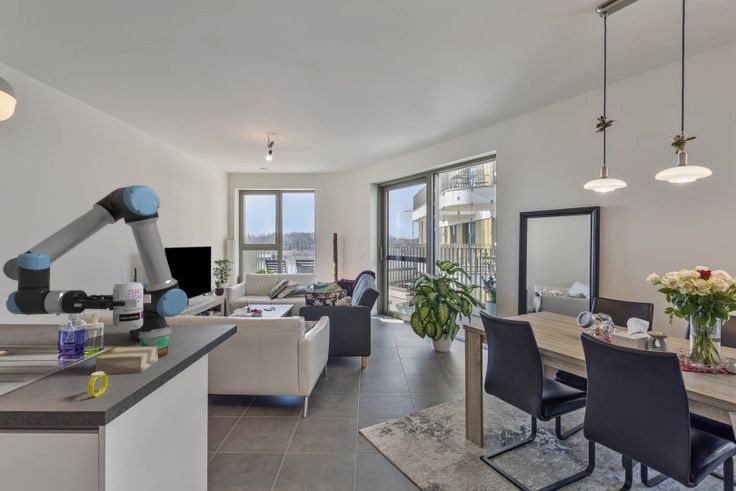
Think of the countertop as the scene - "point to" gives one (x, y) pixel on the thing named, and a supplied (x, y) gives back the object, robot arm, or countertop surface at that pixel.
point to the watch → (92, 381)
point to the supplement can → (128, 316)
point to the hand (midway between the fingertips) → (143, 300)
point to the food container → (157, 339)
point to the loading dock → (127, 359)
